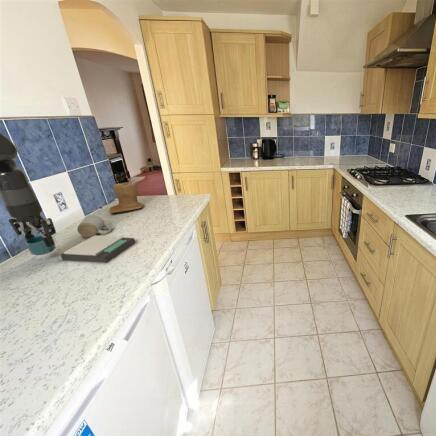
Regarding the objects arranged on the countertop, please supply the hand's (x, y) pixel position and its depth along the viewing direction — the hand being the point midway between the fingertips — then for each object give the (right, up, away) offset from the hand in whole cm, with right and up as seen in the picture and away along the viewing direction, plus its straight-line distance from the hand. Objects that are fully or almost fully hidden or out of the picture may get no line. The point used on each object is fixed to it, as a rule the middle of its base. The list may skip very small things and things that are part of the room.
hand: (42, 245), depth 86 cm
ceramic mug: (+2, +3, +22) cm, 22 cm away
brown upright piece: (-2, +14, +48) cm, 50 cm away
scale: (+15, -3, +7) cm, 17 cm away
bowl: (0, -2, +1) cm, 2 cm away
